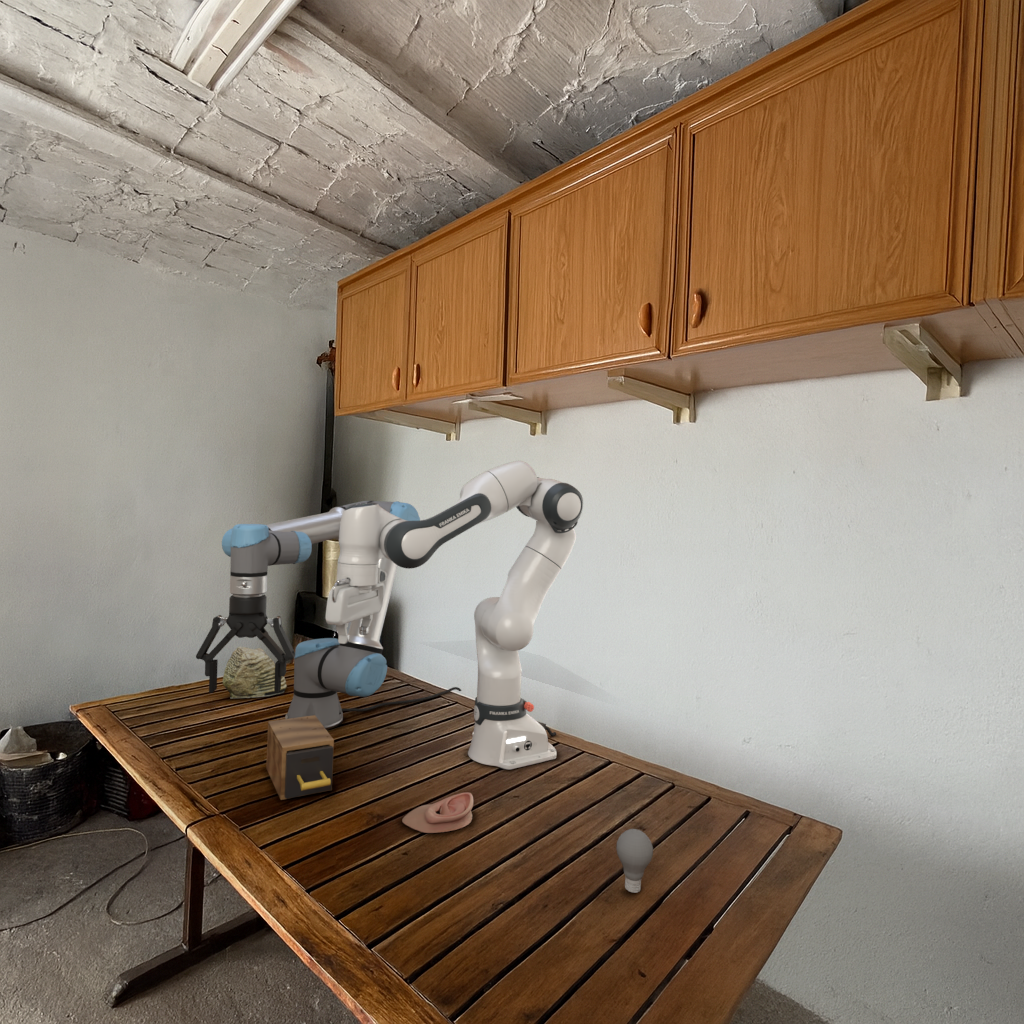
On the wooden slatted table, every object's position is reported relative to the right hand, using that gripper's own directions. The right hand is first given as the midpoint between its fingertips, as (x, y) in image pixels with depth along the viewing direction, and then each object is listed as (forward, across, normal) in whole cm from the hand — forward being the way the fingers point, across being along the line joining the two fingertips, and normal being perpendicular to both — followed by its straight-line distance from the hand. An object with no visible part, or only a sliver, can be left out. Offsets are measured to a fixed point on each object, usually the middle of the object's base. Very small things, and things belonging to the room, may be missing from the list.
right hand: (354, 638), depth 139 cm
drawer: (+32, -5, +8) cm, 33 cm away
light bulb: (+32, -20, -63) cm, 73 cm away
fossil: (+33, +47, +56) cm, 80 cm away
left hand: (+13, -6, +22) cm, 26 cm away
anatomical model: (+32, -8, -24) cm, 41 cm away
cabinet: (+33, -1, +11) cm, 35 cm away
